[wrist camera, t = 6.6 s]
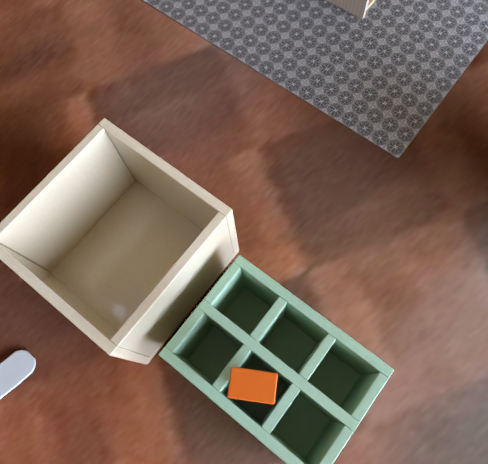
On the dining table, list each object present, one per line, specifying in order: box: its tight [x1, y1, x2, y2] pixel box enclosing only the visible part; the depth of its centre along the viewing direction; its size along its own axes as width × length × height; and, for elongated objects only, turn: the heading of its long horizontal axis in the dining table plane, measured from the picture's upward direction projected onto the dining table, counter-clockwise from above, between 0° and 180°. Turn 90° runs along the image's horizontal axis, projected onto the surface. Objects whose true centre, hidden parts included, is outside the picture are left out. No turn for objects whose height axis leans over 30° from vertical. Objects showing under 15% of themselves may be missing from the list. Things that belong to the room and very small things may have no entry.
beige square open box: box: [0, 118, 239, 365], centre depth 36 cm, size 12×12×10 cm
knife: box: [227, 367, 278, 404], centre depth 29 cm, size 1×2×16 cm, turn 82°
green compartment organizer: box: [159, 255, 394, 464], centre depth 34 cm, size 9×13×7 cm
